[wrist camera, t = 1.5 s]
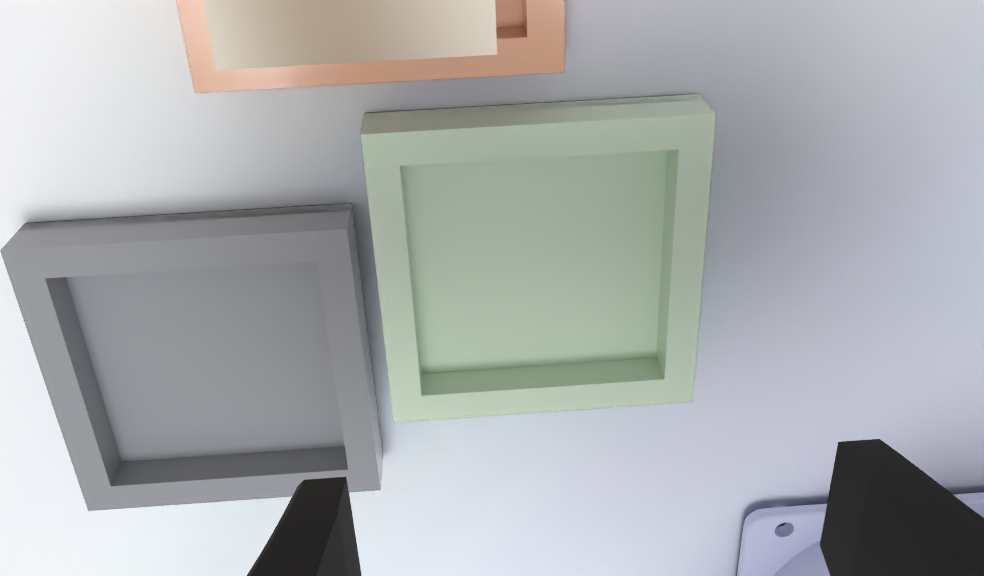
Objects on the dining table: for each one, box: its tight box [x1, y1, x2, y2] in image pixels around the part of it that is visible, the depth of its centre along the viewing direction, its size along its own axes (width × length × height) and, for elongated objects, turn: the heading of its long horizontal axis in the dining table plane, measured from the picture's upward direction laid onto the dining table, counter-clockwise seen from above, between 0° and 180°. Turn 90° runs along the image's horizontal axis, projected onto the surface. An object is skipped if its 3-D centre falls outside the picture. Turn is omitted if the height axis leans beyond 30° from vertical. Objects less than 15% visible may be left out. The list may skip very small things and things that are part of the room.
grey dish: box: [0, 203, 383, 511], centre depth 21 cm, size 7×7×1 cm
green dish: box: [360, 94, 716, 422], centre depth 20 cm, size 7×7×1 cm
